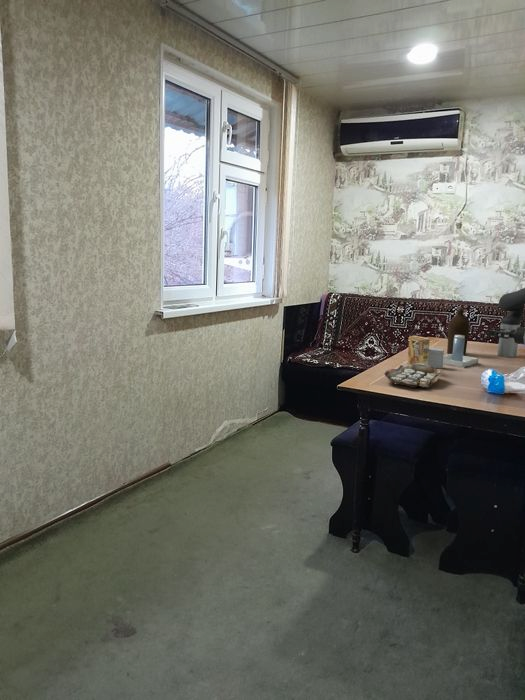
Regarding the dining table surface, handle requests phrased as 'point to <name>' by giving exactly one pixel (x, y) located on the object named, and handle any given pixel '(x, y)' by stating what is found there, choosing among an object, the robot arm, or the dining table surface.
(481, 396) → the dining table surface
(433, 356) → the medicine box
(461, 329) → the brown bottle
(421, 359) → the candy box
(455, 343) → the shaker
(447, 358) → the tray
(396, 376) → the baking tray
